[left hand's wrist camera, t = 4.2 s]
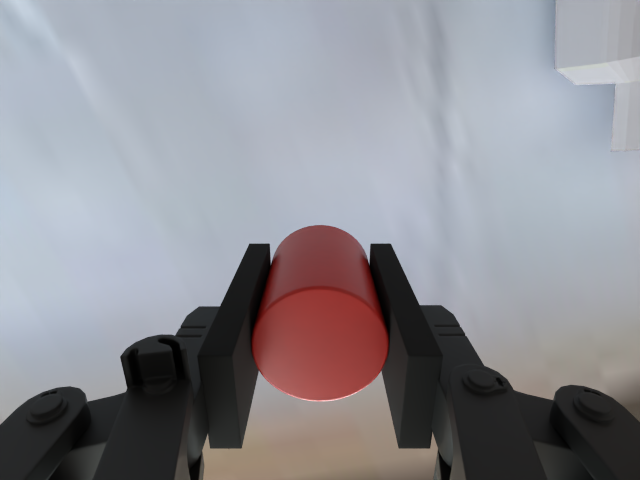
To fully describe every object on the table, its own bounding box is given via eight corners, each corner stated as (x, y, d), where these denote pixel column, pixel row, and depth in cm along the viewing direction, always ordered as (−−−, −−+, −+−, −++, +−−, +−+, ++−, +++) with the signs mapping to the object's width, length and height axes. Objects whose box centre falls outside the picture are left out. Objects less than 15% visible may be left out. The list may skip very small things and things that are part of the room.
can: (278, 315, 16) (261, 407, 11) (264, 229, 14) (239, 293, 10) (370, 307, 16) (391, 397, 11) (365, 219, 14) (387, 280, 10)
